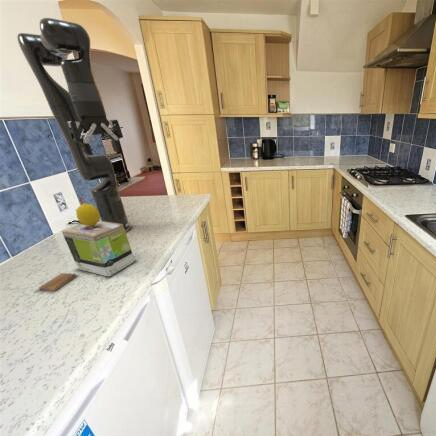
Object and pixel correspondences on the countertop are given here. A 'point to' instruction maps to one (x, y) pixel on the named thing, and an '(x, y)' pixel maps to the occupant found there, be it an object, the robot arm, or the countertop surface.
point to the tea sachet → (57, 282)
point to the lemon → (88, 214)
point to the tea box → (99, 247)
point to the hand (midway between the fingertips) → (104, 153)
